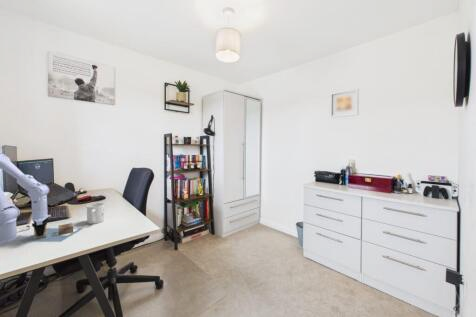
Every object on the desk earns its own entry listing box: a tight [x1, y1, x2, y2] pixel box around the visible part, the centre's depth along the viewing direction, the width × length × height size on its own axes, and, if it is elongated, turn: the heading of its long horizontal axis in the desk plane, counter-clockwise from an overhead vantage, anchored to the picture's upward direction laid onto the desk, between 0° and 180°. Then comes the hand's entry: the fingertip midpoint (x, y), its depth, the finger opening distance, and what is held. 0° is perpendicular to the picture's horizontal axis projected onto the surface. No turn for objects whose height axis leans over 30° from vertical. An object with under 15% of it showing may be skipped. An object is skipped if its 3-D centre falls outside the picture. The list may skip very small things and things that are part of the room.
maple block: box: [33, 224, 48, 239], centre depth 106 cm, size 4×4×5 cm
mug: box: [86, 202, 105, 225], centre depth 127 cm, size 12×9×11 cm
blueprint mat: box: [19, 227, 84, 243], centre depth 110 cm, size 20×16×1 cm
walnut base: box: [57, 222, 74, 235], centre depth 113 cm, size 6×6×4 cm
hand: (40, 234), depth 106 cm, fingers closed on maple block, 4 cm apart
